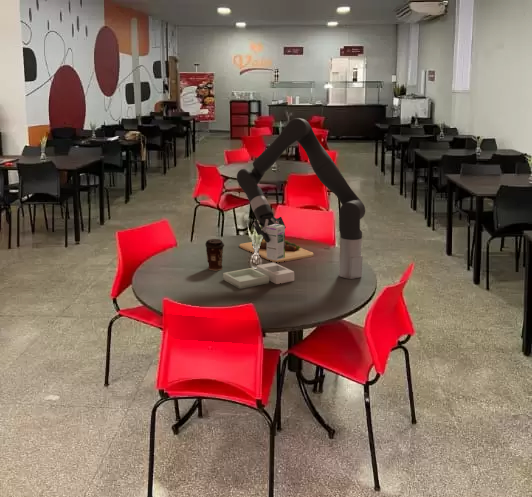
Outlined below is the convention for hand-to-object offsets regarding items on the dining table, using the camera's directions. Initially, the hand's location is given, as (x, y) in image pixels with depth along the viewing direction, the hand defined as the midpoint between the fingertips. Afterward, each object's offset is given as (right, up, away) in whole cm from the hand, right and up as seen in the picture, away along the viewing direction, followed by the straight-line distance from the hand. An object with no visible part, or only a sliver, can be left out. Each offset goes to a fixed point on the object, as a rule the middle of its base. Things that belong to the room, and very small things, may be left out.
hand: (276, 240), depth 275 cm
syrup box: (0, -8, +3) cm, 8 cm away
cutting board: (0, -6, +46) cm, 46 cm away
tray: (-13, -17, -1) cm, 22 cm away
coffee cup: (-27, -13, +17) cm, 35 cm away
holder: (0, -16, +5) cm, 17 cm away
